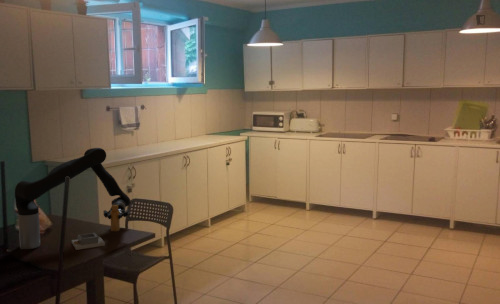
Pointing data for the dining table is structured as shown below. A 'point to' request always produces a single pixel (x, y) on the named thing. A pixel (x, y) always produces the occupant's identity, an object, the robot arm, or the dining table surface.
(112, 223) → the stepped amber cylinder
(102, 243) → the hollow square frame plate
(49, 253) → the dining table surface
